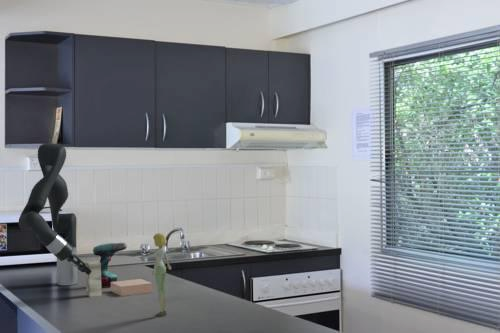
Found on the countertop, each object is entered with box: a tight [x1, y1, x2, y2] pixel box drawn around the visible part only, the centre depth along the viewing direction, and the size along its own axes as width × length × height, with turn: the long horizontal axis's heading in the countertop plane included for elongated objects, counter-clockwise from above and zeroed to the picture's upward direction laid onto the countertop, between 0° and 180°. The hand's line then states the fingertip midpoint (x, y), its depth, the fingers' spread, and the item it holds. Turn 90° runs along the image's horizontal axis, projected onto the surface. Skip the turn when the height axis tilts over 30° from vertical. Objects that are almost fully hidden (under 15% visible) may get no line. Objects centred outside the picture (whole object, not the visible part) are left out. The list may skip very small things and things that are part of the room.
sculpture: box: [150, 232, 172, 317], centre depth 256 cm, size 13×5×30 cm, turn 157°
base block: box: [110, 278, 153, 297], centre depth 304 cm, size 14×14×4 cm
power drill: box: [92, 242, 128, 288], centre depth 319 cm, size 7×16×20 cm, turn 78°
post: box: [85, 261, 103, 298], centre depth 298 cm, size 5×5×14 cm
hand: (87, 272), depth 297 cm, fingers open, 8 cm apart
